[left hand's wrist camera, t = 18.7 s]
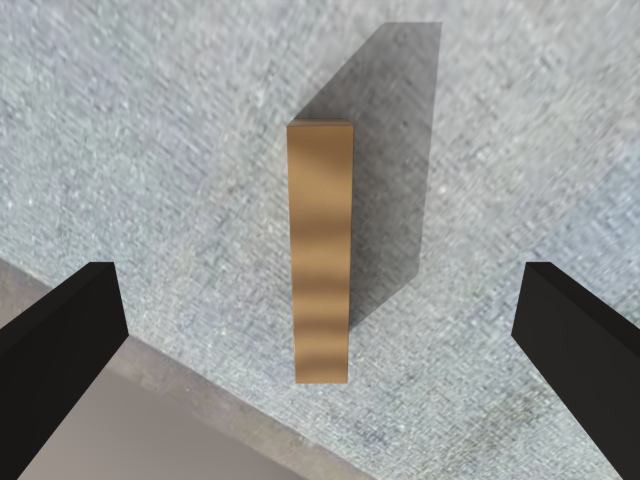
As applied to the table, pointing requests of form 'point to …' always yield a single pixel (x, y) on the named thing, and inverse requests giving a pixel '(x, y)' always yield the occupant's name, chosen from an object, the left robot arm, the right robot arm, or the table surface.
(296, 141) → the bar
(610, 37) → the table surface
